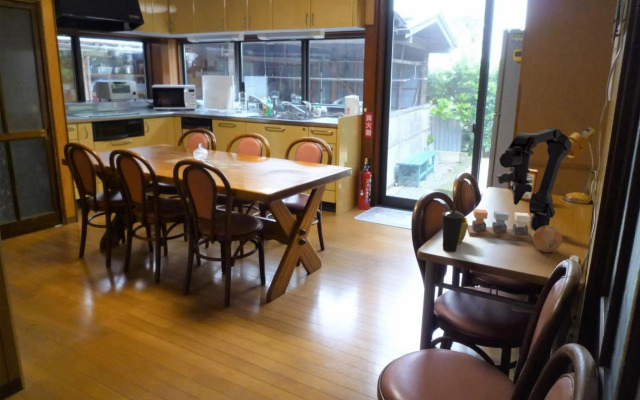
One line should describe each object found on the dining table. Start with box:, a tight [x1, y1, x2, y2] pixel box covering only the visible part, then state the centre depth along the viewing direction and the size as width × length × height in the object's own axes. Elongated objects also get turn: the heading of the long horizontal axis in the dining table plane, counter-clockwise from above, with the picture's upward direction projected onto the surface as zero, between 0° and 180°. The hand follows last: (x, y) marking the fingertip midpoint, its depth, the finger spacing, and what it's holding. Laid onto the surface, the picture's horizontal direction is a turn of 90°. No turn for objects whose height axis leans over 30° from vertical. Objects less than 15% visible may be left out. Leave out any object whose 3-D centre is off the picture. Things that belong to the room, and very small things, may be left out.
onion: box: [532, 224, 563, 253], centre depth 176 cm, size 10×10×10 cm
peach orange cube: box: [473, 208, 489, 224], centre depth 194 cm, size 5×5×5 cm
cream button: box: [513, 211, 531, 228], centre depth 191 cm, size 5×5×5 cm
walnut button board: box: [467, 219, 533, 242], centre depth 194 cm, size 24×10×4 cm, turn 79°
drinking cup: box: [441, 196, 465, 253], centre depth 173 cm, size 8×8×20 cm
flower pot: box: [458, 216, 469, 245], centre depth 183 cm, size 9×9×9 cm
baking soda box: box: [521, 168, 539, 201], centre depth 255 cm, size 10×6×16 cm
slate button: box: [493, 210, 510, 226], centre depth 193 cm, size 5×5×5 cm
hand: (515, 204), depth 190 cm, fingers closed
